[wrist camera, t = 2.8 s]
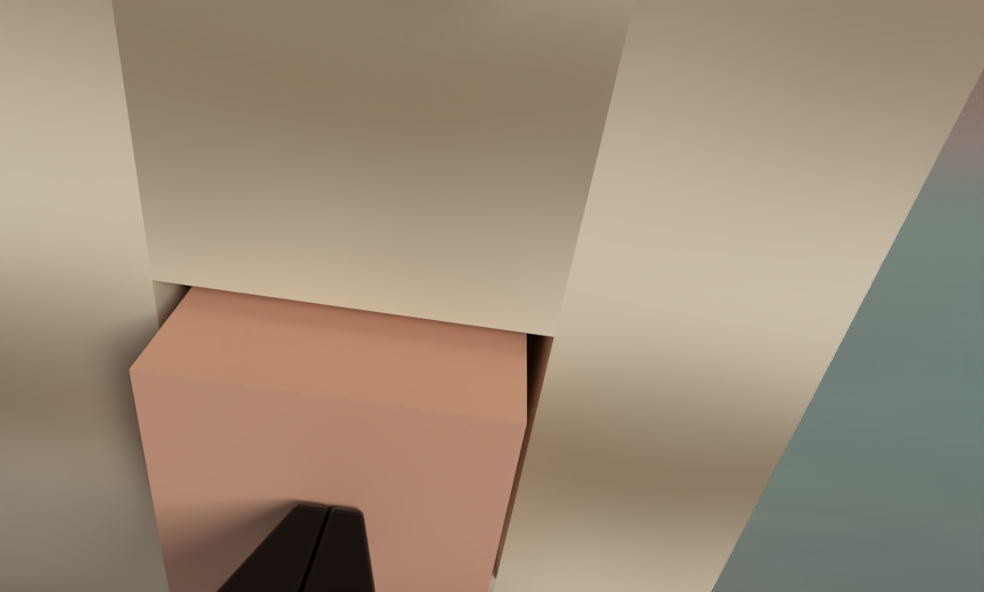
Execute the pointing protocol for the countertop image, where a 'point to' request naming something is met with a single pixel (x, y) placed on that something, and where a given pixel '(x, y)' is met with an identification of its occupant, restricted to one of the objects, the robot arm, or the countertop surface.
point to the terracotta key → (329, 434)
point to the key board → (463, 236)
